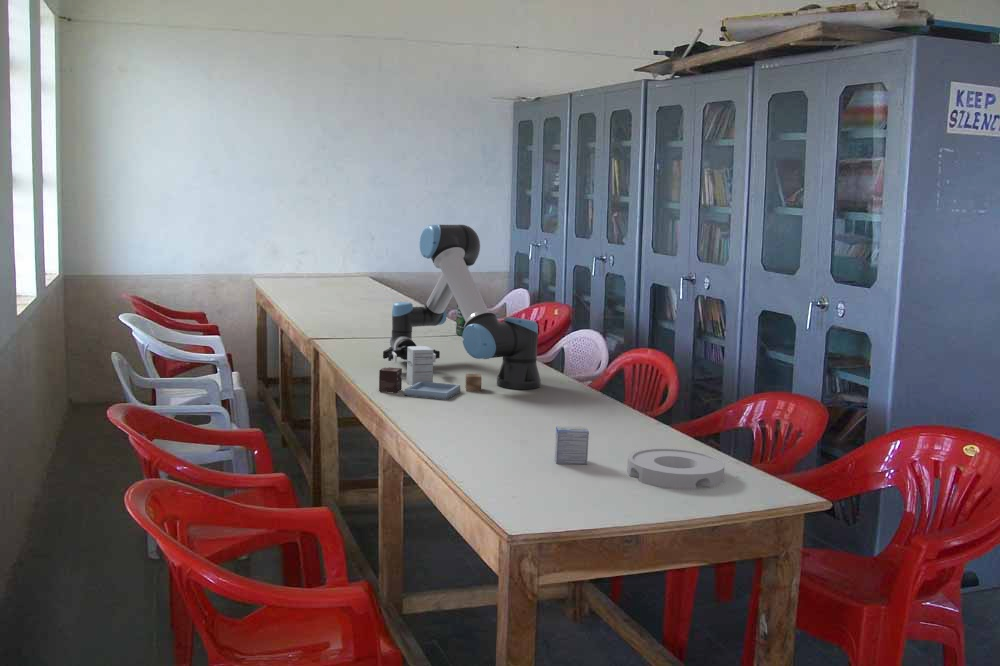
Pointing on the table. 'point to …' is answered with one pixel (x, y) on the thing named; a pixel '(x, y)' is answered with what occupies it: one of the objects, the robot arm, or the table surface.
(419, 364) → the supplement box
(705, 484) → the ashtray
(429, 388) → the tray
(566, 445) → the medicine box
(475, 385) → the walnut block
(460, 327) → the coffee jar
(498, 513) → the table surface
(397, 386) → the box
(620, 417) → the table surface
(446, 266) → the robot arm
